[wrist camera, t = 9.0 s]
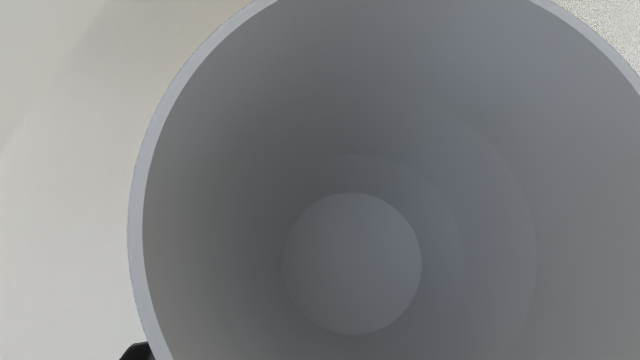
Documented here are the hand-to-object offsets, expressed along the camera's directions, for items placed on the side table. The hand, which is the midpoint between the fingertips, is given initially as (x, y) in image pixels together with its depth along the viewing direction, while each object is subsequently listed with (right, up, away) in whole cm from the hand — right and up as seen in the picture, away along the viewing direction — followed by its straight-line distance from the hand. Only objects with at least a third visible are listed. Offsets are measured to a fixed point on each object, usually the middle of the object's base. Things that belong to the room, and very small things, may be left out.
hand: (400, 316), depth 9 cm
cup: (0, 0, +8) cm, 8 cm away
